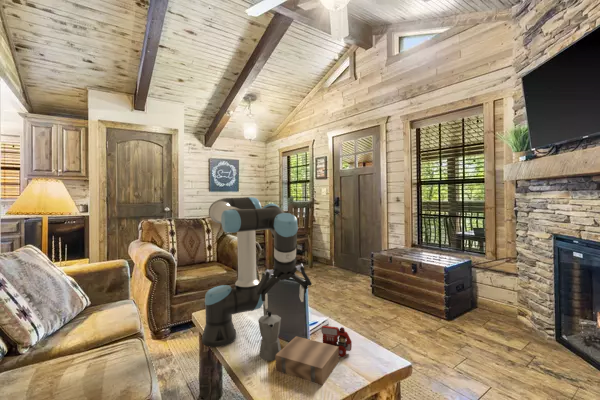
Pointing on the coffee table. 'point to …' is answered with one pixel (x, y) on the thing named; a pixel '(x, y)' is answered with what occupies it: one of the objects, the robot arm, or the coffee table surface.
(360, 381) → the coffee table surface
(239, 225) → the robot arm
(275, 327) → the coffeepot
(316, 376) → the brown wooden block
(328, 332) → the toy fire truck
